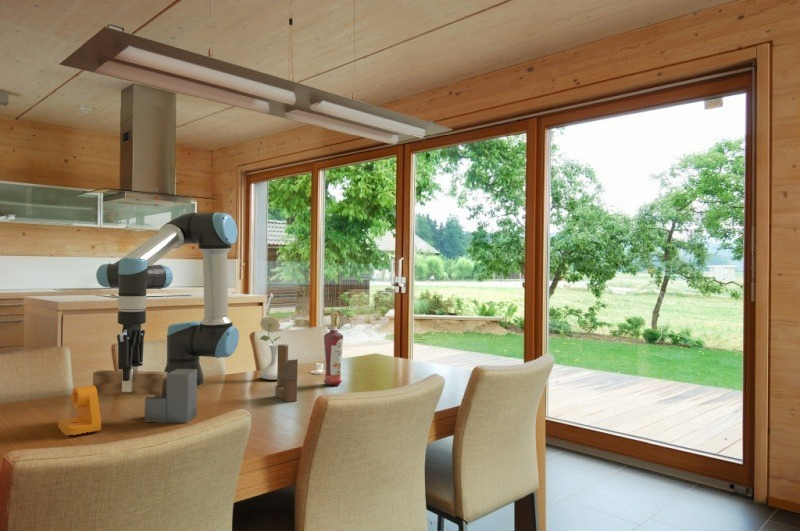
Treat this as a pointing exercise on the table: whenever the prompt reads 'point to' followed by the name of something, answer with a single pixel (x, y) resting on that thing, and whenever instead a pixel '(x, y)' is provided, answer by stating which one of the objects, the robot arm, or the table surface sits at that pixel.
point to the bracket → (83, 412)
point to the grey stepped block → (174, 399)
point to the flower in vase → (270, 326)
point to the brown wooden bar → (141, 384)
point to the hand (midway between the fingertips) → (130, 389)
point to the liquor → (333, 353)
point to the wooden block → (286, 376)
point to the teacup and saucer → (318, 369)
